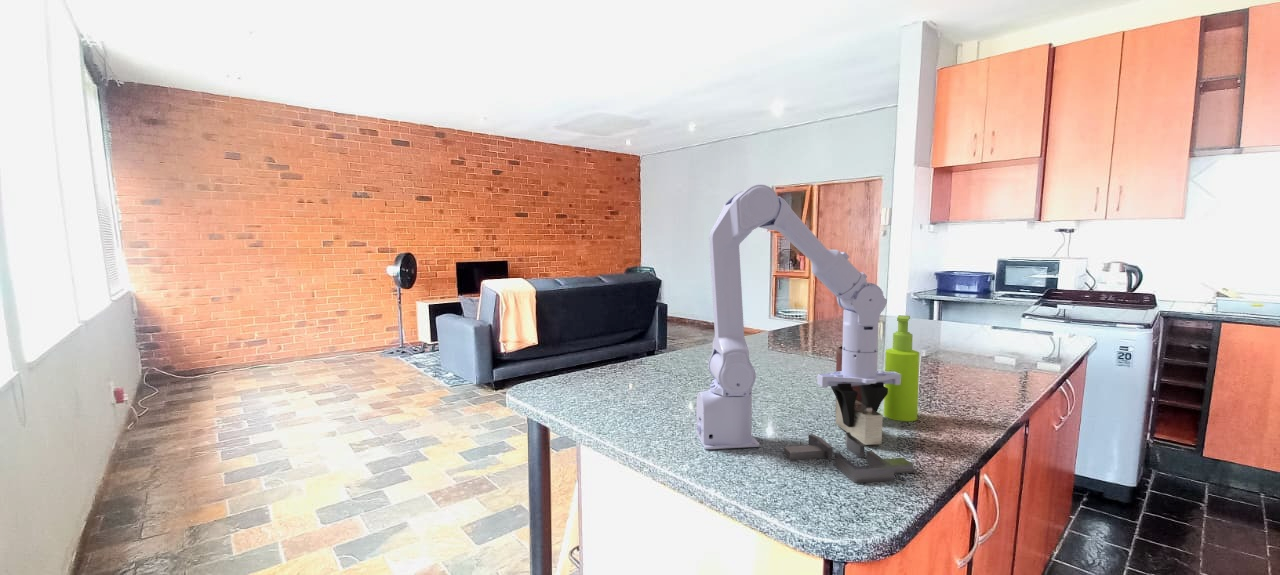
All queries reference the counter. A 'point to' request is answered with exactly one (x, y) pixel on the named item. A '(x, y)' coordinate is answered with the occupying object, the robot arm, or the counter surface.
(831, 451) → the grey linked bars
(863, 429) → the studded metal block
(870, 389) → the robot arm
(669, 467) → the counter surface
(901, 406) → the soap dispenser
